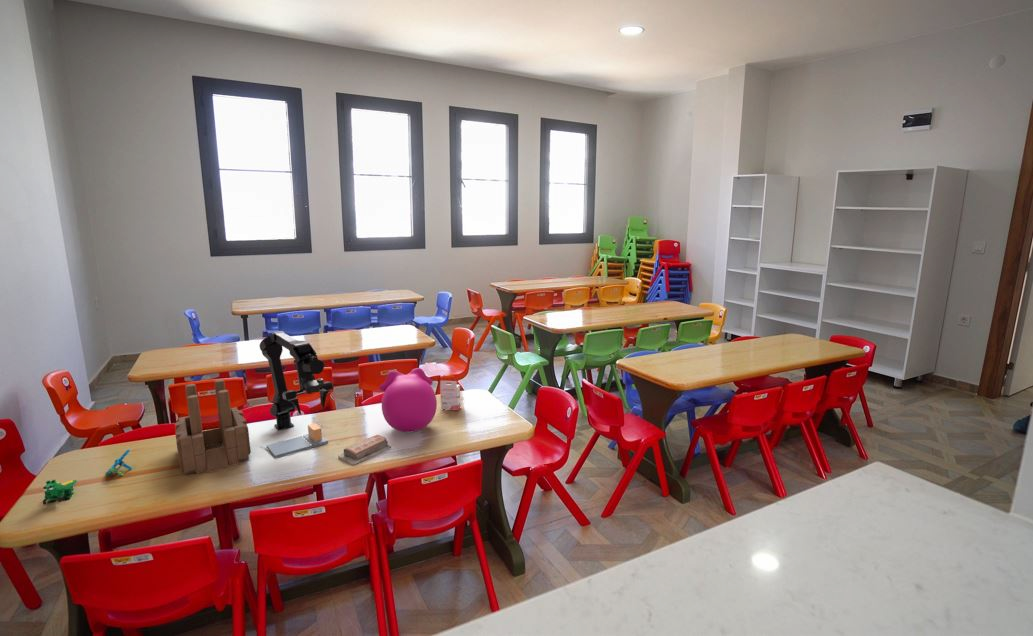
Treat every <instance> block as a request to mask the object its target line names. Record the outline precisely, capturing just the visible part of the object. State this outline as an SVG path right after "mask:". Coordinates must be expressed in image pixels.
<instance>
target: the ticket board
mask: <svg viewBox="0 0 1033 636" xmlns="http://www.w3.org/2000/svg"><path fill="white" fill-rule="evenodd" d="M265 447H266V449H267V450H268V451H269V452H270V453H271V455H272V456H273V457H274V458H275V459H277V458H280V457H283V456H284V457H285V456H287V455H290V454H295V453H298V452H302V451H305V450H309V449H312V448H314V447H313V446H312V444H310V442H308V441H307V440H306V439H305V438H304V437H303V435H300V436H297V437H292V438H289V439H286V440H282V441H278V442H273V443H270V444H267V445H266V446H265Z"/></svg>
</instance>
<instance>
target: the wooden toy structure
mask: <svg viewBox="0 0 1033 636" xmlns="http://www.w3.org/2000/svg"><path fill="white" fill-rule="evenodd" d="M184 387H185V396H186V397H185V398H186V401H187V410H188V416H183V417H178V418H177V419H178V420H177V422H175V423H174V429H175V439H176V448H177V456H178V462H179V468H180V469H179V470H181V471H182V472H184V475H185V476H186V475H190V474H193V473H196V474H200V473H205V472H207V473H208V474H209V473H212V472H216V471H220V470H224V469H225V470H226V469H230V466H233V465H238V464H240V463H239V462H244V461H248V460H249V456H250V454H251V453H252V452H251V451H252V449H251V441H250V433H249V427H248V424H247V418H244V412H243V411H242V410H239V409H238V407H237V406H236V407H231V402H230V401H231V400H230V393H229V390H228V389H226V385H225V379H223V378H222V379H215V380H214V390H215V398H216V407H217V414H218V421H219V427H217V428H213V429H208V430H203V425H202V416H201V409H200V402H199V396H198V393H197V386H196V384H195V383H189V384H186V385H185V386H184ZM216 445H222V446H220V447H214V448H211V449H210V448H209V449H207V450H206V447H207V448H208V447H211V446H216Z"/></svg>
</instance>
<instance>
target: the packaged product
mask: <svg viewBox="0 0 1033 636" xmlns="http://www.w3.org/2000/svg"><path fill="white" fill-rule="evenodd" d="M390 449H392V445H389V443H388V439H387V438H386V437H385V436H382V435H380V434H375V435H372V436H370V437H368V438H366V439H364V440H361V441H359V442H356V443H354V444H352V445H349V446H347V447H345V448H344V449H343V452H342V453H340V454H338V455H337V458H338V459H339V460H342V461H344V462H345V463H347V464H349V465H352V464H353V465H352V466H356V465H357V463H358V464H360V463H362V462H364V461H366V460H368V458H369V459H370V458H373V457H376V456H377V455H380V454H381V453H384V452H385V451H388V450H390ZM361 461H362V462H361ZM355 464H356V465H355Z"/></svg>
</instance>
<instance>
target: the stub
mask: <svg viewBox="0 0 1033 636" xmlns="http://www.w3.org/2000/svg"><path fill="white" fill-rule="evenodd" d="M307 429H308V430H307V431H308V433H307V434H303V435H302V436H303V437H304V438H305V439H306V440H307V441H308V442H310V444H312V447H313V448H316V447H319V446H322V445H323V446H324V445H325V444H328V443H329V440H328V439H327V438H326V437H324V435H322V434H323V433H322V428H321V427H320V426H319V424H317V423H316V422H315V423H310V424H308V425H307Z"/></svg>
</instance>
